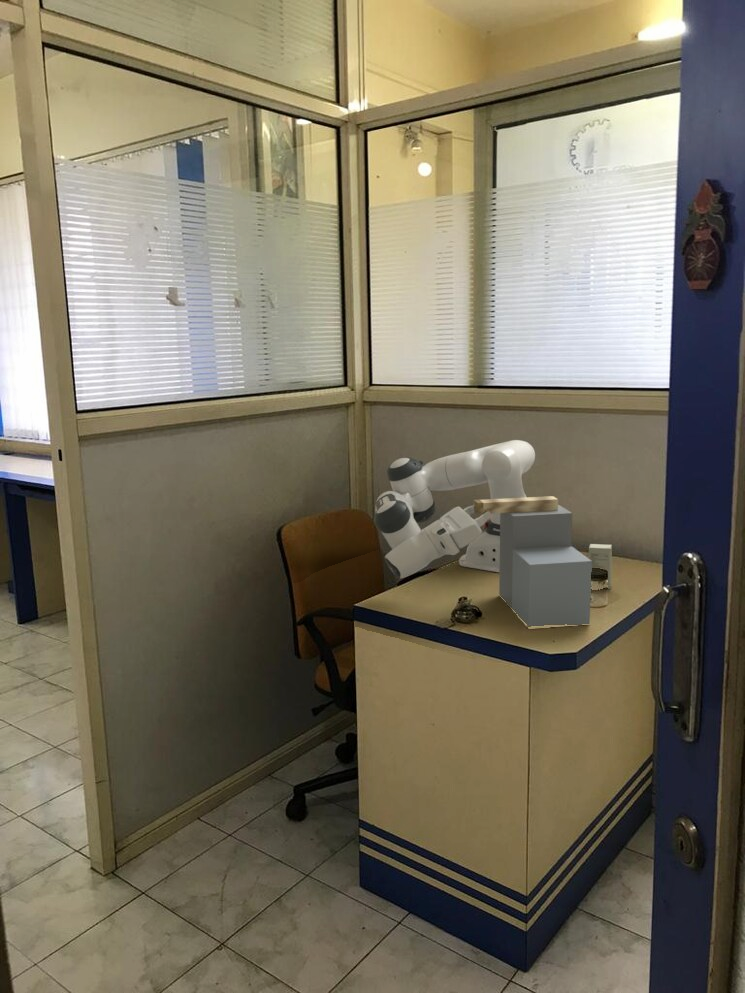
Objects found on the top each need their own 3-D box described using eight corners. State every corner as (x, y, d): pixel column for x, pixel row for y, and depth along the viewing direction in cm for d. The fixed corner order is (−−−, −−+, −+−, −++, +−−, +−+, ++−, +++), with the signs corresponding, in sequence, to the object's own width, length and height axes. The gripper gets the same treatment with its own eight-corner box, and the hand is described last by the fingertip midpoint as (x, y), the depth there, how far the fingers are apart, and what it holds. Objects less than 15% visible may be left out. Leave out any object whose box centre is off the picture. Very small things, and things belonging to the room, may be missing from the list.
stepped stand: (528, 629, 206) (530, 529, 201) (499, 595, 231) (500, 506, 226) (589, 625, 208) (593, 526, 203) (553, 592, 233) (556, 503, 228)
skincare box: (611, 585, 239) (613, 544, 236) (610, 589, 235) (612, 548, 232) (588, 583, 241) (590, 542, 238) (587, 587, 237) (588, 546, 234)
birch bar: (477, 514, 217) (477, 503, 216) (473, 511, 221) (473, 499, 220) (557, 510, 220) (558, 499, 219) (552, 506, 224) (552, 495, 223)
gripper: (438, 536, 230) (480, 510, 230) (456, 557, 210) (501, 528, 210) (427, 518, 228) (469, 491, 228) (443, 537, 208) (490, 508, 208)
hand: (485, 509), depth 219 cm, fingers open, 8 cm apart
